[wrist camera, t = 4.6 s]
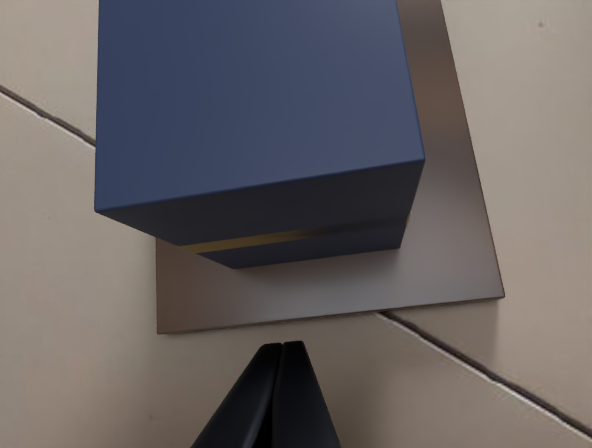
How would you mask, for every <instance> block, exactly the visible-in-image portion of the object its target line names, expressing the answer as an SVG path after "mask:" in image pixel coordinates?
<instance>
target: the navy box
mask: <svg viewBox="0 0 592 448" xmlns="http://www.w3.org/2000/svg"><path fill="white" fill-rule="evenodd" d="M425 161H426V155H425V150H424V144H423V139H422V134H421V128H420V123H419V117H418V112H417V107H416V101H415V96H414V91H413V85H412V80H411V75H410V69H409V64H408V59H407V53H406V48H405V43H404V37H403V32H402V27H401V21H400V16H399V11H398V5H397V0H99V23H98V67H97V110H96V154H95V197H94V210H95V212H96V213H99V214H101V215H103V216H106V217H108V218H111V219H113V220H116V221H118V222H120V223H123V224H125V225H128V226H130V227H132V228H135V229H137V230H140V231H142V232H144V233H147V234H149V235H152V236H154V237H157V238H159V239H161V240H164V241H166V242H169V243H171V244H173V245H176V246H177V247H179V248H182V249H184V250H187V251H189V252H192V253H194V254H198V255H200V256H202V257H205V258H207V259H210V260H212V261H214V262H217V263H219V264H222V265H224V266H227V267H229V268H231V269H239V268H247V267H255V266H262V265H270V264H278V263H286V262H294V261H302V260H310V259H317V258H325V257H333V256H341V255H349V254H357V253H365V252H373V251H380V250H388V249H396V248H400V247H401V243H402V240H403V236H404V233H405V230H406V226H407V224H408V222H409V219H410V216H411V209H412V205H413V202H414V199H415V195H416V192H417V188H418V185H419V181H420V178H421V175H422V171H423V168H424V164H425Z"/></svg>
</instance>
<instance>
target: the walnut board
mask: <svg viewBox="0 0 592 448" xmlns="http://www.w3.org/2000/svg"><path fill="white" fill-rule="evenodd" d="M397 5H398V11H399V16H400V21H401V27H402V32H403V37H404V43H405V48H406V53H407V59H408V64H409V69H410V75H411V80H412V85H413V91H414V96H415V101H416V107H417V112H418V117H419V123H420V128H421V134H422V139H423V144H424V150H425V155H426V161H425V164H424V168H423V171H422V175H421V178H420V181H419V185H418V188H417V192H416V195H415V199H414V202H413V205H412V209H411V216H410V219H409V222H408V224H407V226H406V230H405V233H404V236H403V240H402V243H401V247H400V248H396V249H388V250H380V251H373V252H365V253H357V254H349V255H341V256H333V257H325V258H317V259H310V260H302V261H294V262H286V263H278V264H270V265H262V266H255V267H247V268H239V269H231V268H229V267H227V266H224V265H222V264H219V263H217V262H214V261H212V260H210V259H207V258H205V257H202V256H200V255H198V254H194V253H192V252H189V251H187V250H184V249H182V248H179V247H177V246H176V245H173V244H171V243H169V242H166V241H164V240H161V239H159V238H157V237H156V292H157V334H159V335H161V334H176V333H185V332H194V331H204V330H213V329H223V328H232V327H242V326H251V325H261V324H270V323H279V322H289V321H298V320H308V319H317V318H327V317H336V316H346V315H355V314H364V313H374V312H383V311H393V310H402V309H412V308H421V307H431V306H440V305H449V304H459V303H468V302H478V301H487V300H497V299H501V298H504V297H505V292H504V288H503V283H502V279H501V274H500V269H499V265H498V260H497V256H496V251H495V247H494V242H493V237H492V233H491V228H490V224H489V219H488V215H487V210H486V205H485V201H484V196H483V192H482V187H481V183H480V178H479V173H478V169H477V164H476V160H475V155H474V151H473V146H472V141H471V137H470V132H469V128H468V123H467V119H466V114H465V109H464V105H463V100H462V96H461V91H460V87H459V82H458V78H457V73H456V68H455V64H454V59H453V55H452V50H451V46H450V41H449V36H448V32H447V27H446V23H445V18H444V14H443V9H442V4H441V0H397Z"/></svg>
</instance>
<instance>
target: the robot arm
mask: <svg viewBox="0 0 592 448" xmlns="http://www.w3.org/2000/svg"><path fill="white" fill-rule="evenodd" d="M191 448H341V445H340V442H339V439H338V436H337V434H336V431H335V428H334V425H333V423H332V420H331V417H330V414H329V411H328V409H327V406H326V403H325V400H324V398H323V395H322V392H321V389H320V386H319V384H318V381H317V378H316V375H315V373H314V370H313V367H312V364H311V362H310V359H309V356H308V353H307V350H306V348H305V345H304V343H303V341H290V342H285V343H284V344H282V343H270V344H264V345H262V346H261V347H260V348H259V350H258V351H257V353H256V354H255V355H254V357H253V358H252V360H251V361H250V363H249V364H248V365H247V367H246V368H245V370H244V371H243V373H242V374H241V376H240V377H239V378H238V380H237V381H236V383H235V384H234V386H233V387H232V389H231V390H230V391H229V393H228V394H227V396H226V397H225V399H224V400H223V401H222V403H221V404H220V406H219V407H218V409H217V410H216V412H215V413H214V414H213V416H212V417H211V419H210V420H209V422H208V423H207V425H206V426H205V427H204V429H203V430H202V432H201V433H200V435H199V436H198V437H197V439H196V440H195V442H194V443H193V445H192V446H191Z"/></svg>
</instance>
